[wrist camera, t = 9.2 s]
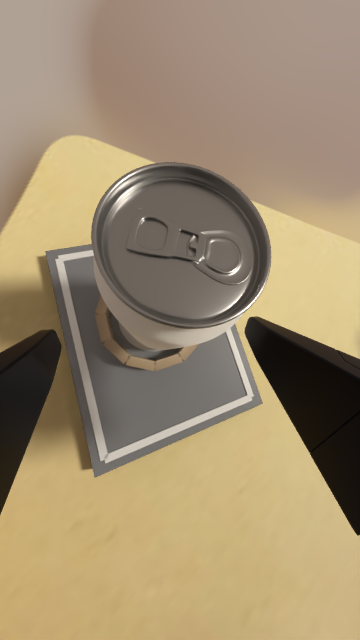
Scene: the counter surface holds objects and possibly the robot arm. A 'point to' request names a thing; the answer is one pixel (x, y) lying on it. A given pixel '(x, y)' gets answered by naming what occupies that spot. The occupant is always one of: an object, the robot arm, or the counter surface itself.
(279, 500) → the counter surface
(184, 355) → the socket collar
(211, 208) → the can
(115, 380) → the grey mat
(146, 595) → the counter surface
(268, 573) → the counter surface
